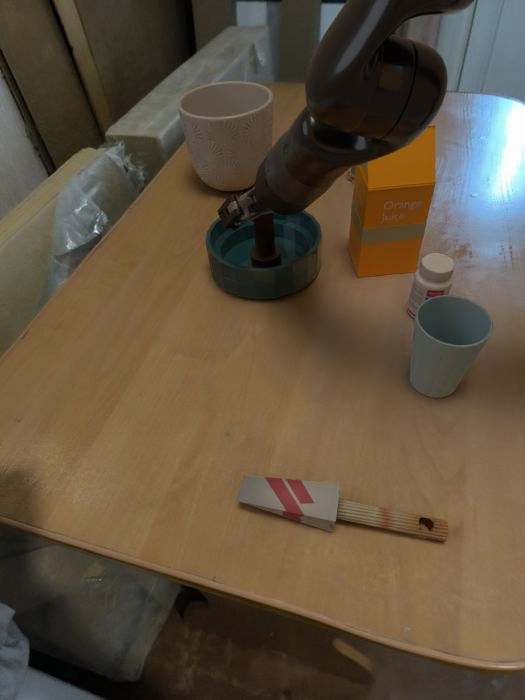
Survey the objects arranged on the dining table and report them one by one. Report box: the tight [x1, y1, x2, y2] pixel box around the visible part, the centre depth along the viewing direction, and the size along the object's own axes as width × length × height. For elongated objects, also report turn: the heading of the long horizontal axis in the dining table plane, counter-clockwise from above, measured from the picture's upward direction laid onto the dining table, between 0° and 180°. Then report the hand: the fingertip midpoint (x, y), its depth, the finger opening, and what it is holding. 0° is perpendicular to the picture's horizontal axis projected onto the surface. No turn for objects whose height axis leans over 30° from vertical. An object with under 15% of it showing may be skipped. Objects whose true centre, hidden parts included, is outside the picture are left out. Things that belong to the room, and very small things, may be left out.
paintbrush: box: [236, 474, 449, 542], centre depth 44 cm, size 4×3×20 cm
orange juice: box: [347, 125, 437, 278], centre depth 64 cm, size 8×9×20 cm
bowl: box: [204, 209, 323, 300], centre depth 70 cm, size 17×17×6 cm
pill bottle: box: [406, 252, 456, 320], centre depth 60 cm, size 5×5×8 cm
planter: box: [176, 80, 274, 192], centre depth 85 cm, size 17×17×15 cm
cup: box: [409, 294, 494, 399], centre depth 51 cm, size 8×8×10 cm
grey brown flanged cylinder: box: [250, 209, 282, 268], centre depth 67 cm, size 5×5×11 cm
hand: (257, 214), depth 66 cm, fingers open, 8 cm apart
